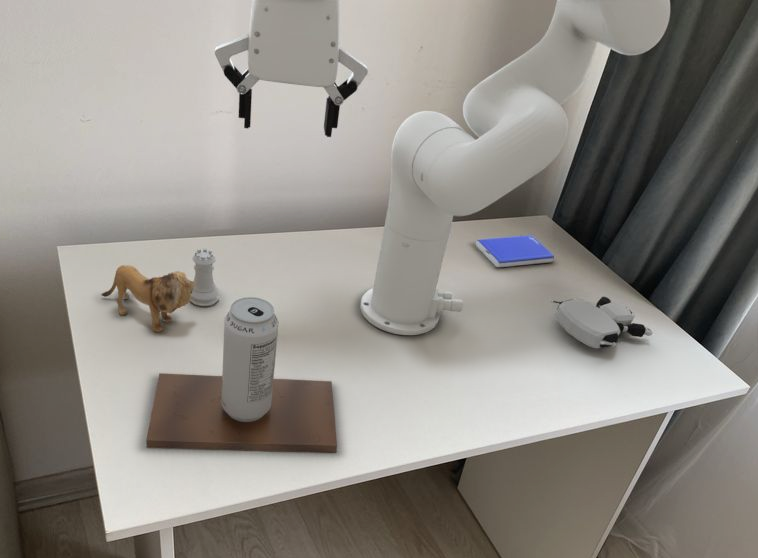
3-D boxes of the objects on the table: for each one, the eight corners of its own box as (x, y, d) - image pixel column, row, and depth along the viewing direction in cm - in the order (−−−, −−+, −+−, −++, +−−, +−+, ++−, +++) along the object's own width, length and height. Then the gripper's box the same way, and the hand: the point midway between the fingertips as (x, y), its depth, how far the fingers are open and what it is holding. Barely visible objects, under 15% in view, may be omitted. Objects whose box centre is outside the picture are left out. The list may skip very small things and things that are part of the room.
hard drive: (530, 234, 143) (477, 238, 137) (554, 255, 137) (499, 261, 132) (528, 241, 143) (475, 245, 138) (552, 262, 138) (497, 268, 133)
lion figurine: (201, 323, 105) (201, 269, 99) (179, 342, 100) (179, 287, 95) (113, 290, 107) (109, 236, 102) (88, 307, 103) (83, 252, 98)
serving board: (330, 387, 98) (331, 381, 98) (336, 452, 89) (337, 445, 88) (159, 380, 94) (159, 373, 93) (146, 447, 84) (146, 440, 84)
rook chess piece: (222, 294, 111) (224, 248, 106) (213, 310, 108) (214, 263, 103) (193, 288, 111) (193, 242, 106) (183, 304, 107) (183, 257, 103)
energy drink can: (245, 385, 94) (251, 288, 85) (280, 408, 92) (290, 310, 83) (210, 408, 90) (213, 307, 81) (246, 432, 87) (253, 331, 79)
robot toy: (598, 308, 129) (538, 319, 121) (608, 286, 127) (547, 296, 118) (650, 348, 122) (589, 363, 113) (661, 326, 119) (601, 339, 111)
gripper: (374, -22, 83) (355, 124, 93) (218, -46, 79) (215, 109, 90) (382, -6, 77) (361, 148, 88) (214, -31, 74) (212, 133, 84)
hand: (287, 128), depth 89 cm, fingers open, 9 cm apart
